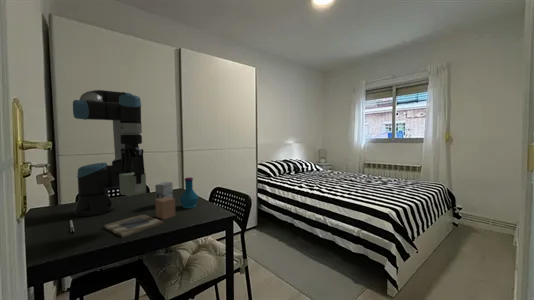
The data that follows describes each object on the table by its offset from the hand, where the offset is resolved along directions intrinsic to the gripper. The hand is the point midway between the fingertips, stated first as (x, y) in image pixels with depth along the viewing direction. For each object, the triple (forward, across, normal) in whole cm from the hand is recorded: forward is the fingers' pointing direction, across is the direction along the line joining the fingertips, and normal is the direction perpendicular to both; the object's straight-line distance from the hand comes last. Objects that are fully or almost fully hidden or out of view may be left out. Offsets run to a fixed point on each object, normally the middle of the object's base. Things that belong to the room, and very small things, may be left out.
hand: (133, 190), depth 96 cm
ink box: (+15, -17, +24) cm, 33 cm away
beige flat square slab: (+15, 0, 0) cm, 15 cm away
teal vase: (+15, -4, +30) cm, 34 cm away
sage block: (+1, 0, 0) cm, 1 cm away
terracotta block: (+15, 0, +14) cm, 20 cm away
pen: (+15, -20, -15) cm, 29 cm away
